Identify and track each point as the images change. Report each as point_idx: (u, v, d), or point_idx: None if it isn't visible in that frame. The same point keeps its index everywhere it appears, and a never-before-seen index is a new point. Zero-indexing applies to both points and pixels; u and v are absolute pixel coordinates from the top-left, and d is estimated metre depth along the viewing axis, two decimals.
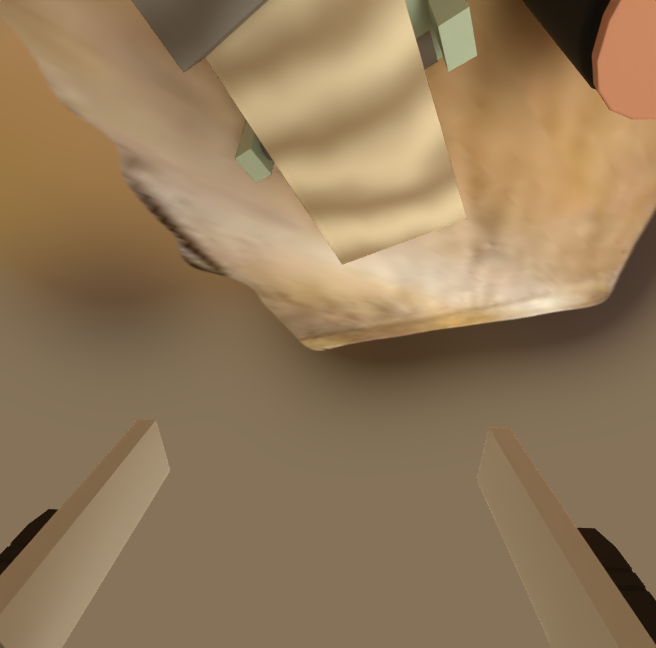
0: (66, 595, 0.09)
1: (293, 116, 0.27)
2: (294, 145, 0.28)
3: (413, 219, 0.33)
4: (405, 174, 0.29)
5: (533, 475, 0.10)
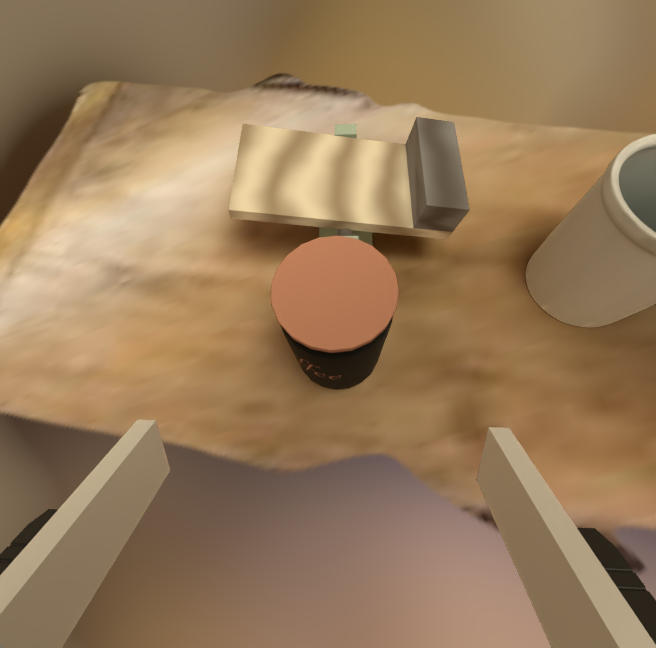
0: (66, 595, 0.09)
1: (360, 159, 0.42)
2: (346, 150, 0.42)
3: (252, 180, 0.39)
4: (290, 190, 0.39)
5: (533, 475, 0.10)
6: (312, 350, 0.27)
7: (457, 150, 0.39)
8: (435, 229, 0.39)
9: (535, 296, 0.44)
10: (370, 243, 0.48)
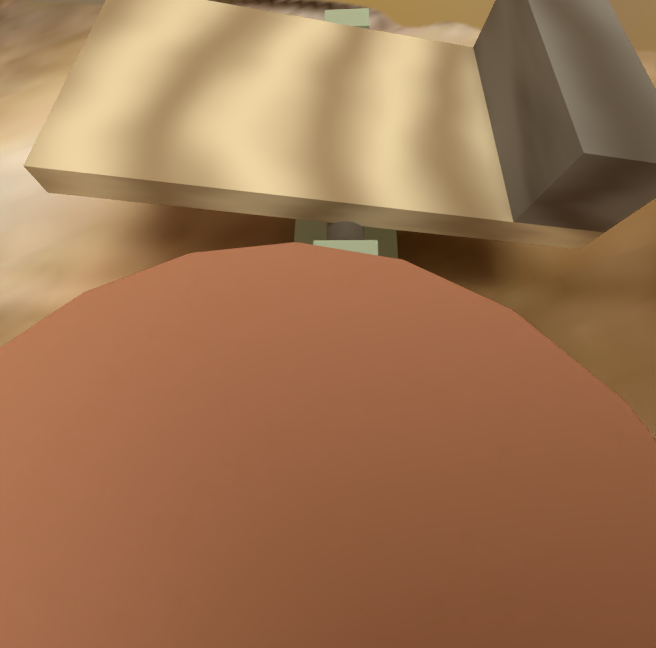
0: None
1: (379, 68, 0.19)
2: (347, 50, 0.19)
3: (109, 98, 0.15)
4: (208, 125, 0.16)
5: None
6: None
7: (621, 32, 0.16)
8: (566, 225, 0.16)
9: None
10: (393, 254, 0.24)
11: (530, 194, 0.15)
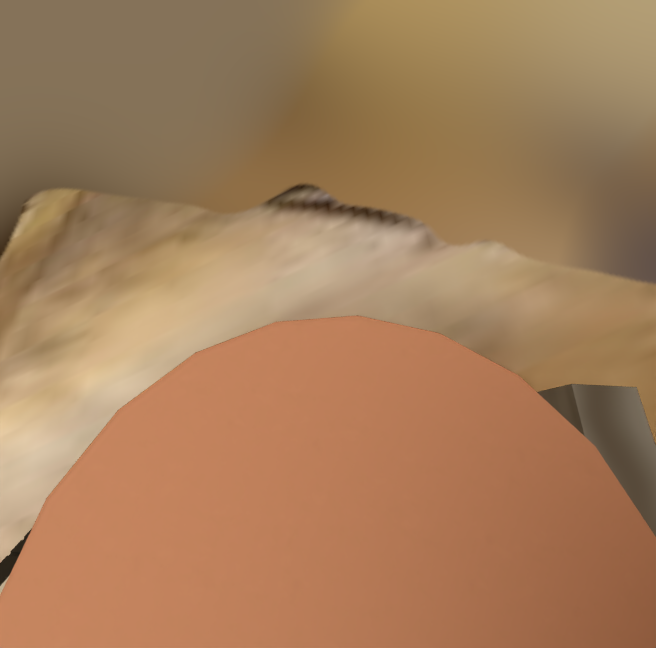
0: None
1: None
2: None
3: None
4: None
5: None
6: None
7: None
8: None
9: None
10: None
11: None
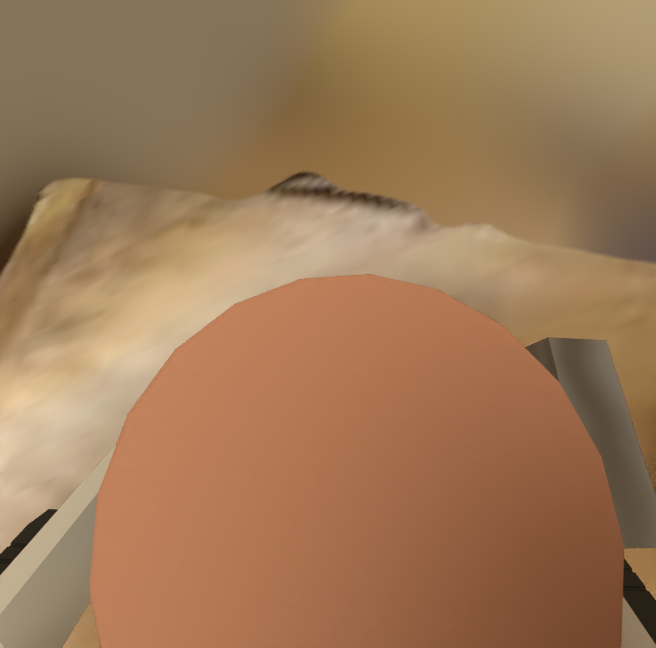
0: (66, 595, 0.09)
1: None
2: None
3: None
4: None
5: None
6: None
7: (623, 403, 0.24)
8: None
9: None
10: None
11: None
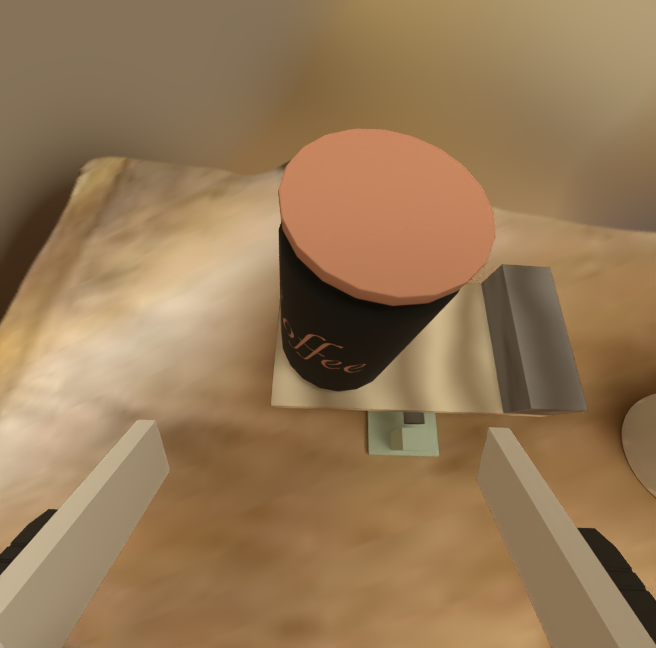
0: (66, 595, 0.09)
1: None
2: None
3: None
4: None
5: (533, 475, 0.10)
6: (350, 306, 0.15)
7: (559, 312, 0.31)
8: (532, 414, 0.31)
9: (639, 474, 0.36)
10: None
11: (510, 406, 0.30)
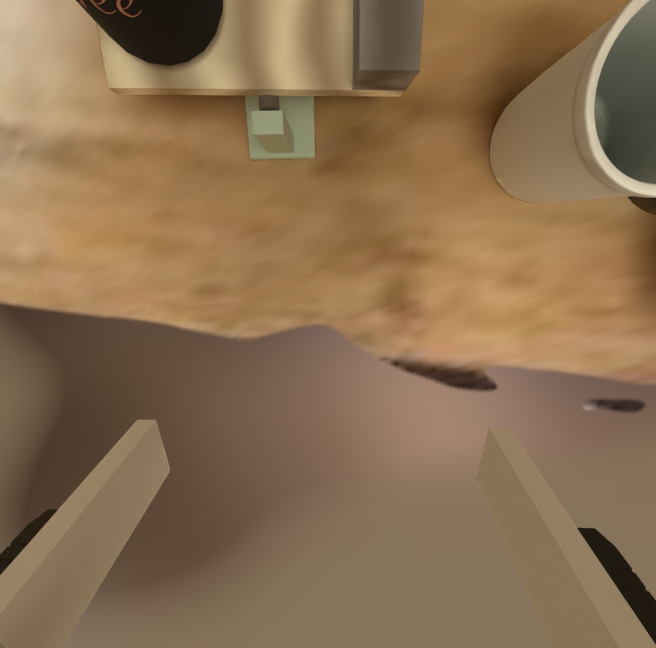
0: (66, 595, 0.09)
1: None
2: None
3: None
4: None
5: (533, 475, 0.10)
6: None
7: None
8: (381, 89, 0.30)
9: (493, 165, 0.39)
10: None
11: (354, 77, 0.29)
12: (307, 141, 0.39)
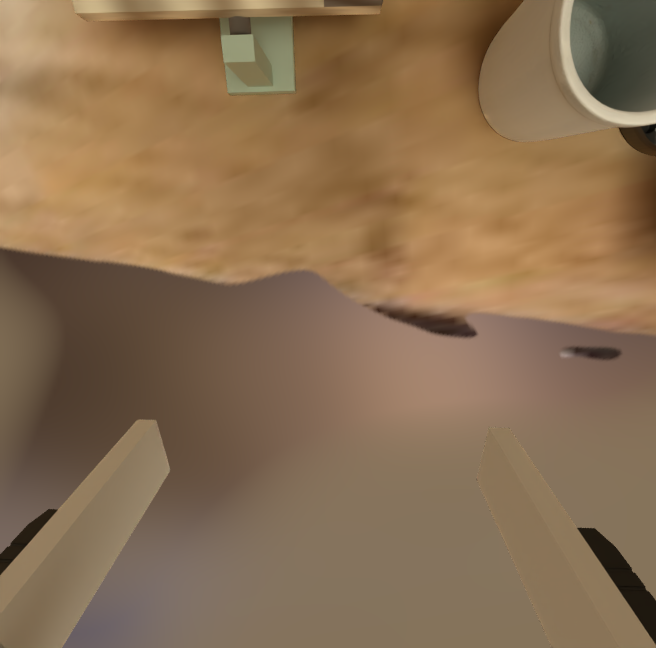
0: (66, 595, 0.09)
1: None
2: None
3: None
4: None
5: (533, 475, 0.10)
6: None
7: None
8: (355, 5, 0.28)
9: (481, 100, 0.38)
10: None
11: None
12: (286, 73, 0.37)
